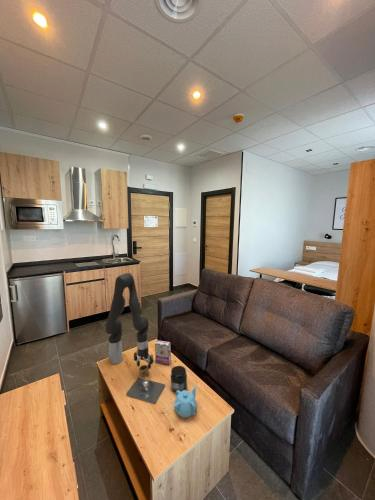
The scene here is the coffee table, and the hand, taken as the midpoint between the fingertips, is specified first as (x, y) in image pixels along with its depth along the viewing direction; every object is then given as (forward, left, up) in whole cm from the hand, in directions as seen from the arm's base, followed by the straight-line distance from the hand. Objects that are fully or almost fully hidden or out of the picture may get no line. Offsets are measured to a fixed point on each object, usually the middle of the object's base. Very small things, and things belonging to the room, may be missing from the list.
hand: (144, 367), depth 148 cm
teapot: (+38, -18, -6) cm, 42 cm away
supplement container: (+28, -4, -6) cm, 28 cm away
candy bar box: (+8, +15, -6) cm, 18 cm away
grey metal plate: (+9, -13, -5) cm, 16 cm away
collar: (0, 0, -5) cm, 5 cm away
